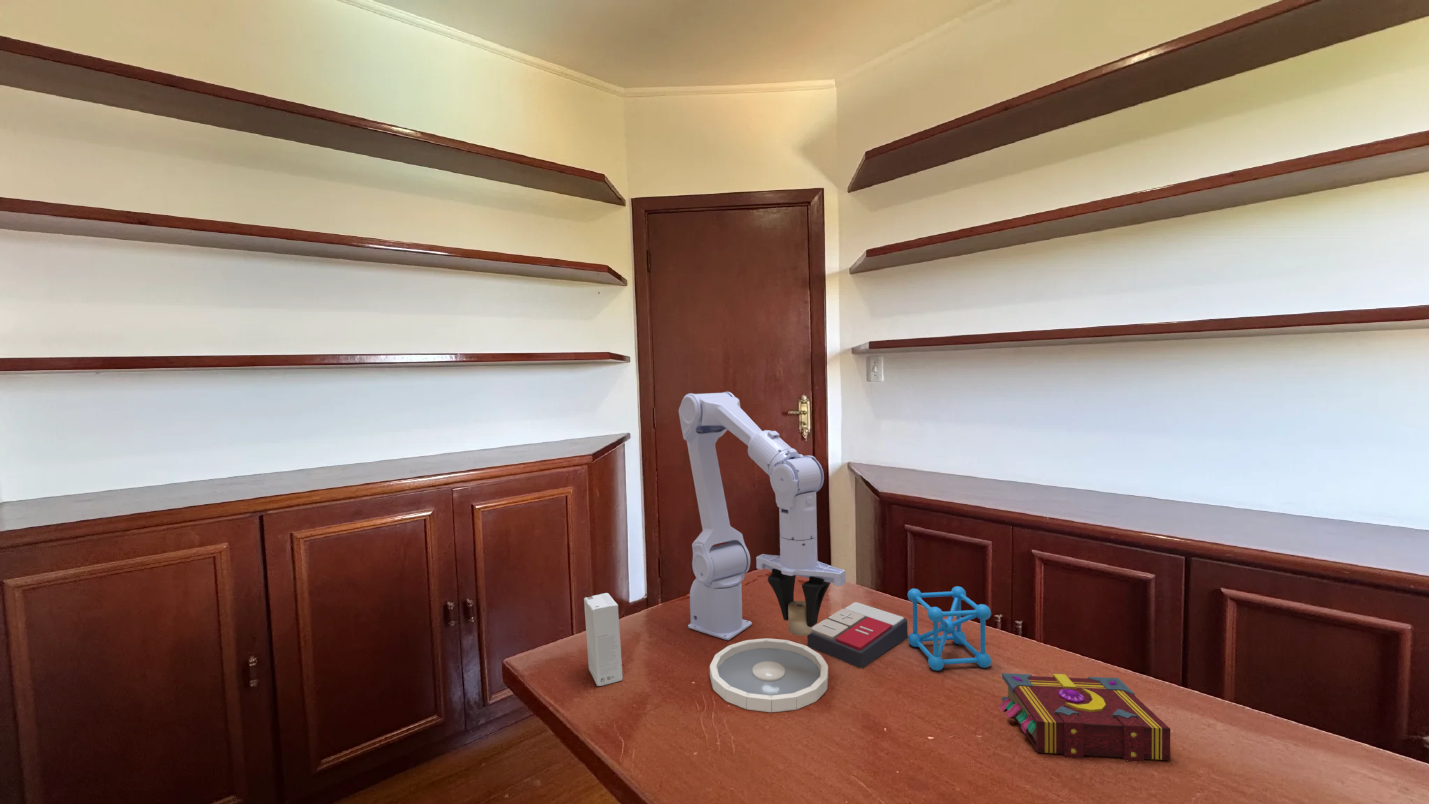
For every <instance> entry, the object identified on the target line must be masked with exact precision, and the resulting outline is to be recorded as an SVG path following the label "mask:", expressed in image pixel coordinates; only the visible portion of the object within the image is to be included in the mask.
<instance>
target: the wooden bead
mask: <svg viewBox="0 0 1429 804" xmlns="http://www.w3.org/2000/svg"><path fill="white" fill-rule="evenodd" d="M787 622H788V632H789V633H790V634H792V635H794V636H799V637H800V636H801V637H802V636H803V637H804V636H807V635H809V634H810V633H811V632H812V627H808V626H807V621H806V602H805V600H794V601H792V602H790V603H789V604H788V620H787Z"/></svg>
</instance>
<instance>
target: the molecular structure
mask: <svg viewBox="0 0 1429 804" xmlns="http://www.w3.org/2000/svg"><path fill="white" fill-rule="evenodd" d="M907 597H908V600H909V601H910V602H912V632H911V633H910V634H909V635H908V638H907V639H908V640H907V641H908V643H909V645H910V646H911V647H914V648H920V650H921V651H922V652H923V653H924V655H925V656H926V657H928V660H927V664H928V666H929V668H931V670H933V671H936V672H937V671H941V670H942V669H943V668H944V666H945V665H961V664H975V663H976V665H978V666H979V667H980V668H983V669H985V668H986V669H987V668H988V667H990V666H991V663H992V657H991V655H989V654H988V653H987V652H986V650H987V649H986V645H987V644H986V643H987V642H986V640H987V639H986V632H987V631H986V620H989V619H990V618H991V616H992V612H991V608H990V607H989V606H988V605H986V604H984V603H983V604H982V603H980V604H976V603H975V601H973V600H971V599H970V598H969V597H967V593H966V590H965V589H964V588H963V587H961V586H960V585H959V586H958V585H957V586H954V587H952V589H951V591H937V592H936V591H935V592H934V591H933V592H921V591H920V589H918V588H911V589H909V591H907ZM938 597H939V598H940V597H952V598H953V601H952V604H951V608H950V611H949V610H948V611H943V610H942V609H941V608H939V607H938V606H930V605H929V604H928V603H927V602H925V601H924V598H938ZM962 601H964V602H965V603H967V604H968V605H969V606H971V607H972V608H973V609H970V610H969V609H967V610H962ZM918 603H919V604H920V606H922V607H923V608H924V609H925V610H926V611H927V617H928V619H929V620H930V621H931V622H932V629H931V630H929V631H927V632H925V633H922V634H920V633H918V631H919V630H918ZM945 617H946V618H945ZM954 617H955V619H956V620H954V621H953V619H954ZM976 618H978V619H979V620H980V621H979V622H980V624H979V625H980V626H979V627H980V635H979V636H980V651H978V650H977V649H976V648H975V647H974V646H973V645H971V643H969V642H968V641H967V636H966V634H965V632H964V631H962V624H963V623H964V624H965V623H967V622H968V621H972V620H974V619H976ZM939 633H942V635H939ZM946 641H953V643H954V644H956V645H963V646H965V647H966V648H967V650H969V651H970V653H972V654H973V655H974V656H975V657H963V658H950V659H949V658H948V659H947V658H946V659H943V657H942V653H943V650H944V648H945V644H946ZM923 642H924V643H925V642H927V643H928V642H933V644H932V647H933V649H932V650H933V652H932V653H933V654H932V653H931V652H930V651H929V650H928V649H927V648H926V646H925V645H924V644H923Z"/></svg>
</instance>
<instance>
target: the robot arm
mask: <svg viewBox="0 0 1429 804" xmlns="http://www.w3.org/2000/svg"><path fill="white" fill-rule="evenodd" d="M678 416H679V422H680V429H681V432H682V437H683V440H684V441H686V445H687V449H688V450H687V451H688V456H689V457H688V458H689V463H690V467H691V472H692V478H693V479H692V480H693V484H694V485H693V486H694V489H695V495H696V500H697V507H698V512H699V516H700V517H699V518H700V525H701V529H702V531H701V532H700V533H699V535H698V536H697V537H696V539H695V540H694V541H693V542H692V544H691V547H692V561H691V566H692V572H693V574H694V576H695V579H694V580H693V582H692V584H691V586H690V591H689V613H690V623H689V624H688V625H687V627H688V629H691V630H695V631H697V632H700V633H704V634H706V635H710V636H713V637H716V638H719V639H722V640H725V641H730V640H731V639H732V638H734V637H735V636H737V635H738V634H740V633H742V632H743V631H744V630H746V629H748V628H749V627H750V626H751V625H753V623H752V621H750V620H747V619H743V599H742V598H743V597H742V596H743V595H742V581H743V580H745V574H747V573H748V572H749V570H750V566H751V556H750V551H749V550H748V547H747V546H746V543H745V540H744V536H743V533H742V532H740V531H739V530H737V529H736V528H734V527H732V526H731V522H730V518H729V517H730V516H729V512H728V507H727V506H728V505H727V501H726V497H725V492H724V485H723V481H722V475H721V469H720V465H719V460H718V459H719V458H718V454H717V449H716V443H717V442H718V440H719V438H721V437H722V436H723V435H724V434H726V432H727V431H729V432H730V433H732V434H733V435H734V436H735V437H736V438H737V439H739V440H740V441H741V442H743V444H745V445H746V446H747V454H748V457H749V458H750V459H751V460H753V461H754V463H755V464H757V466H759V468H761V469H762V471H764V472H765V474H767V476H769V481H770V485H771V488H772V490H773V492H774V494H775V504H776V506H777V508H778V511H779V517H778V518H779V548H780V549H779V550H780V551H779V555H776V554H774V555H773V554H765V553H762V554H759V555H757V556H756V557H755V558H756V559H755V560H756V570H757V569H758V570H764V569H765V570H769V571H771V573H770V575H768V577H767V580H768V581H767V582H768V584H769V586H770V587H771V588H772V590H773V592H774V594H775V597H776V598H777V601H778V604H779V606H780V611H781V614H782V619H783V620H784V621H787V622H788V604H789V603H790V602H792V601H795V600H794V599H795V597H794V595H795V593H794V591H795V584H796V583H795V582H796V576H798V577H801V578H802V577H803V578H806V579H808V580H806V581H805V582H803V583H802V585H801V589H802V592H803V595H804V601H805V602H806V621H807V626H808V627H813V626H815V625H816V624H818V619H819V614H820V609H821V606H822V602H823V600H824V597H825V594H826V593H827V591H828V588H830V587H829V586H830V585H831V584H833V586H836V587H841V586H843V585H844V584H845V583H846V570H845V569H842V568H838V567H835V566H833V565H830V564H827V563H823V562H821V561H819V560H818V528H817V527H818V526H817V525H818V524H817V523H818V522H817V521H818V520H817V517H818V516H817V515H818V514H817V492H819V491H820V490H821V488H822V487H823V485H824V480H825V475H824V469H823V467H822V465H821V463H820V462H819V461H818V460H817V458H816V457H815V456H814V455H803V454H802V453H801V454H800V453H798V451H797V450H796V448H792V447H791V446H790V444H788V443H786V442H785V441H784V440H783V439H782V438H781V437H780V433H779V432H778V431H776V430H768V429H764V430H762V429H761V428H760V427H759V425H758V424H756V422H754V421H753V420H752V419H751V417H749V415H748V414H747V413H746V412H745V411H744V410H743V409H742V408H741V402H740V399H739V398H738V397H736V396H735V395H734V394H733V393H732V392H730V391H724V392H710V393H687V394H685V395H684V396H683V398H682V400H681V403H680V405H679V408H678ZM721 543H723V544H721ZM718 544H719V545H718ZM714 545H715V546H714Z"/></svg>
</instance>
